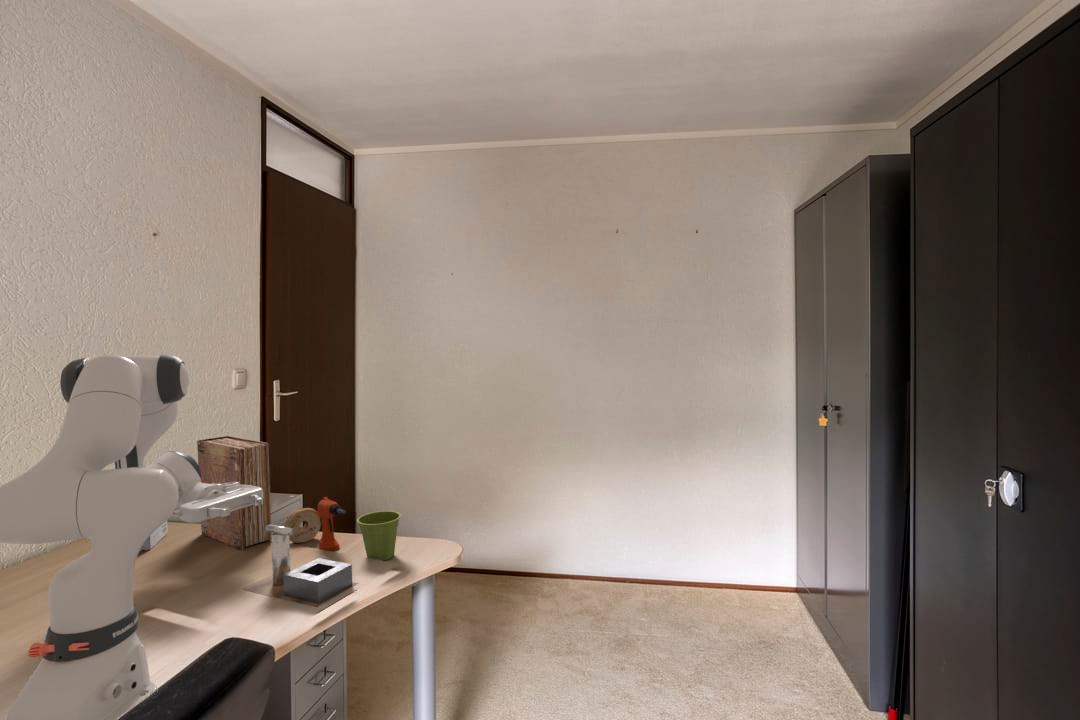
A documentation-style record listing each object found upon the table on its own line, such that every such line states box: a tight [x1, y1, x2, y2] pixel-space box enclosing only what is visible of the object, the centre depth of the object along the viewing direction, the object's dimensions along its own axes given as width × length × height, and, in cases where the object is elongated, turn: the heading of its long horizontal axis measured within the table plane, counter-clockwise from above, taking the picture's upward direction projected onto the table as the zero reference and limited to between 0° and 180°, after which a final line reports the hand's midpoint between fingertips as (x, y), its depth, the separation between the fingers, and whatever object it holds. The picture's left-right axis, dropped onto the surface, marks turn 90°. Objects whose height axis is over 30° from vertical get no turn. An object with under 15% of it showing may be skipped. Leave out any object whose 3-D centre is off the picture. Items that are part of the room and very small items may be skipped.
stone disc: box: [284, 507, 322, 544], centre depth 170 cm, size 10×4×10 cm, turn 135°
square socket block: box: [283, 557, 353, 604], centre depth 133 cm, size 11×11×5 cm
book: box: [196, 435, 273, 551], centre depth 174 cm, size 25×9×30 cm, turn 54°
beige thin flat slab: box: [241, 568, 359, 614], centre depth 136 cm, size 24×13×2 cm, turn 66°
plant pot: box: [356, 510, 402, 562], centre depth 157 cm, size 12×12×11 cm
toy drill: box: [316, 496, 347, 552], centre depth 161 cm, size 5×19×15 cm, turn 40°
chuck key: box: [266, 524, 294, 586], centre depth 138 cm, size 8×4×14 cm, turn 66°
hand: (244, 507), depth 142 cm, fingers open, 8 cm apart
